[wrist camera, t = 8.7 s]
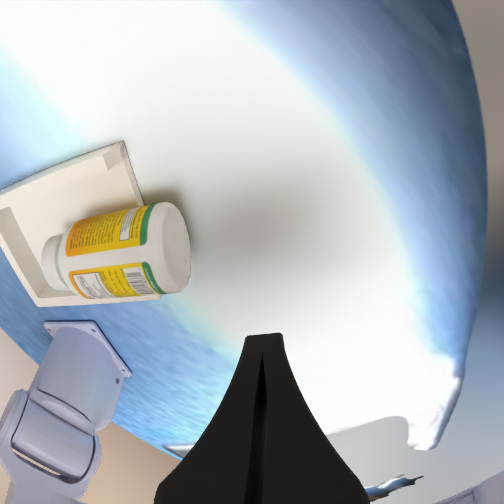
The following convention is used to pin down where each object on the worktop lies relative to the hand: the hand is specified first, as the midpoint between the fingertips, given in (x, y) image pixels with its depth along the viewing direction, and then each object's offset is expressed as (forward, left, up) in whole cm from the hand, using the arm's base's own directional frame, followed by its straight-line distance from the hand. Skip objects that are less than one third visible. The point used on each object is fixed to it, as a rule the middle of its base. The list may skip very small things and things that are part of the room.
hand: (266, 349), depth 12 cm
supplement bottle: (+1, +5, -7) cm, 9 cm away
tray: (+2, +14, -10) cm, 17 cm away
